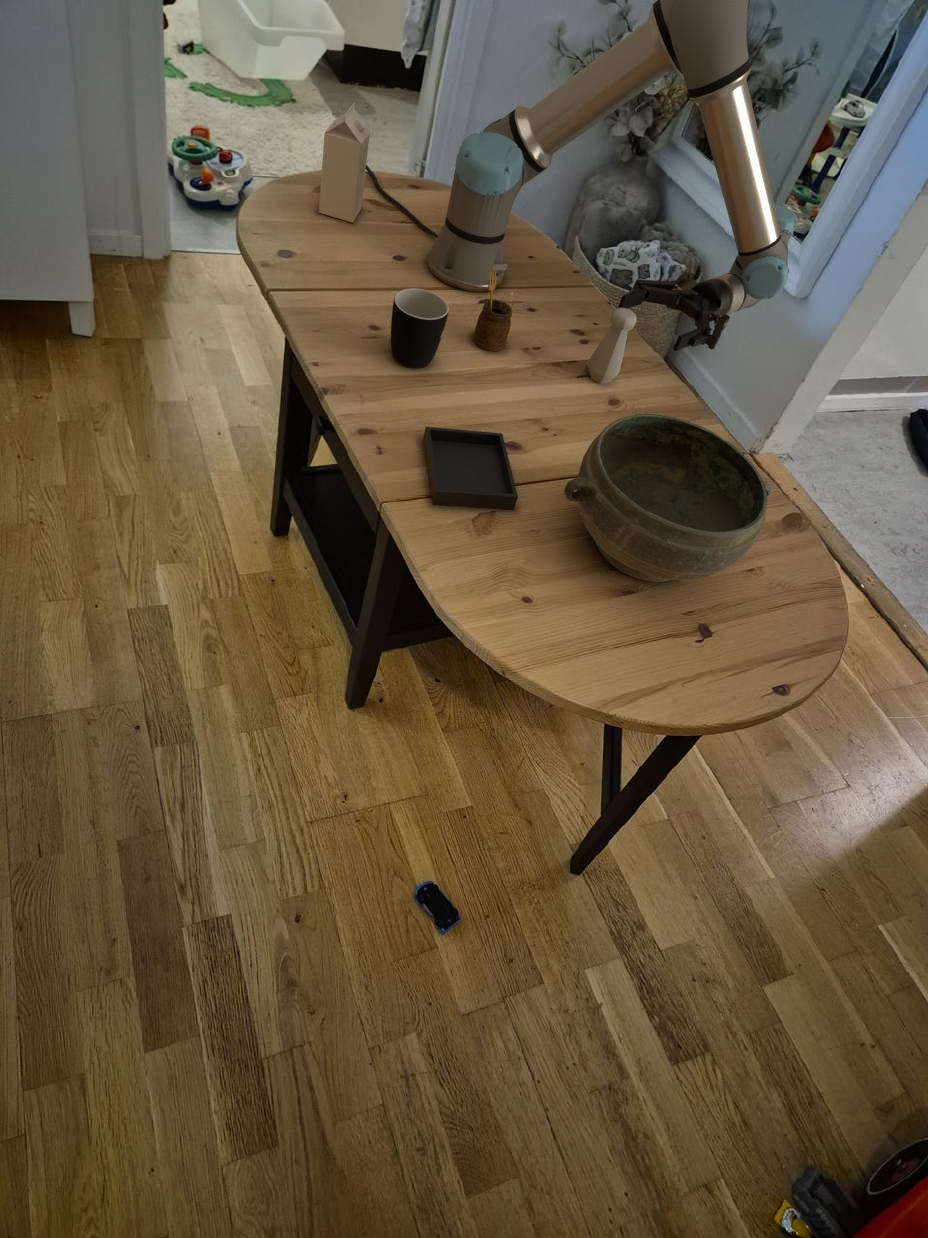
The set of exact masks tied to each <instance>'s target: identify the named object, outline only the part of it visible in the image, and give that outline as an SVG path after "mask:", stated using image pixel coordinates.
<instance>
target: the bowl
mask: <svg viewBox="0 0 928 1238" xmlns="http://www.w3.org/2000/svg"><path fill="white" fill-rule="evenodd" d="M577 474H578V475H577V477H574V478H572V479H571V480H570V481H568V482H567V483H566V484H565V487H564V497H565V499H567V501H569V502H575V503H578V507H579V511H580V515H581V520H582V522H583V525H584V527H585V529H586V530H587V532H588V533H589V535H590V536H591V537H592V538H593V540H594V542H595V545H596V547H597V549H598V551H599V552H600V554H601V555H602V557H604V559H605V560H606V561H607V562H608V563H609V564H610V565H612V567H614V568H615V569H616V570H618V571H620V572H621V573H623V574H624V575H627V576H628V577H631V578H633V579H637V580H642V581H646V582H650V583H664V582H668V581H690V580H691V581H692V580H697V579H698V580H699V579H701V578H702V579H703V578H706V577H709V576H712V575H715V574H717V573H720V572H723V571H725V570H727V569H728V568H729V567H731V566H733V565H735V563H737V562H738V561H739V560H740V559H742V558H743V556H744V555H746V554H747V552H748V551H749V550H750V549H751V548H752V547H753V545H754V544H755V543H756V542H757V540H758V538H759V537H760V535H761V533H762V530H763V528H764V526H765V521H766V515H767V514H766V513H767V507H768V497H769V496H770V493H771V490H772V489H771V486H770V484H769V483H768V481H765V480H763V478H762V476H761V474H760V473H759V470H757V467H756V466H755V464H753V462H752V461H751V460H750V459H749V458H748V456H746V455H745V454H744V453H743V452H742V451H740V449H738V448H737V447H736V446H735V445H734V444H732V443H731V442H730V441H728V440H726V439H725V438H723V437H722V436H720V435H719V434H717V433H716V432H714V431H712V430H710V429H708V428H706V427H704V426H702V425H699V424H696V423H694V422H691V421H688V420H685V419H681V418H678V417H674V416H669V415H664V414H657V413H636V414H631V415H628V416H624V417H620V418H618V419H616V420H614V421H612V422H610V423H609V424H608V425H606V426H605V427H604V428H603V430H602V431H601V432H600V433H599V434H598V435H597V436H596V437H595V438H594V439H593V440H592V441H591V443H590V444H589V446H588V447H587V449H586V451H585V453H584V455H583V457H582V460H581V463H580V466H579V471H578V473H577Z"/></svg>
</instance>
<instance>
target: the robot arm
mask: <svg viewBox="0 0 928 1238" xmlns="http://www.w3.org/2000/svg"><path fill="white" fill-rule="evenodd" d="M750 6H751V0H656V1H655V2H653V3H652V4H651V7H650V9H649V14H648V16H647V19H646V21H645V22H643V23H642V24H641V25H639V26H638V27H637V28H635V29H634V30H633V31H632V32H630V33H629V34H627V35H626V36H625V37H624V38H622V39H620V41H618V42H616V43H615V44H614V45H613V46H612V47H610V48H609V49H608V50H606V51H605V52H603V53H602V54H601V55H599V56H598V57H597V58H595V59H594V60H593V61H592V62H590V63H589V64H588V65H586V66H585V67H584V68H582V69H581V70H580V71H579V72H578V71H577V73H576V74H574V75H573V76H572V77H570V78H569V79H568V80H566V81H565V82H564V83H562V84H561V85H560V86H559V87H557V88H556V89H554V90H553V91H552V92H550V93H549V94H547V96H545V97H543V99H541V100H540V101H538V102H537V103H536V104H535V105H533V106H532V107H530V108H529V107H526V106H522V105H519V106H517V107H516V108H515V109H513V110H512V111H510V112H509V113H508V114H506V115H505V116H504V117H501V118H498V119H497V120H494V121H492V122H490V123H489V124H488V125H487V126H486V127H485V128H484V129H483V130H482V131H480V132H479V133H477V132H475V133H471V134H470V135H468V136H466V137H465V138H464V139H463V140H462V142H461V144H460V146H459V150H458V153H457V154H456V157H455V168H454V172H453V173H454V174H453V178H452V183H451V190H450V194H449V200H448V204H447V210H446V216H445V220H444V224H443V226H442V228H441V230H440V232H439V234H437V233H436V232H435V231H433V230H432V229H430V228H428V227H427V225H425V224H424V223H423V222H421V221H420V220H419V219H418V218H416V216H414V214H412V212H411V211H410V210H408V209H407V208H406V207H405V206H404V205H403V204H402V203H400V202H399V201H397V200H396V199H394V197H392V196H391V195H390V194H388V193H387V192H386V191H384V189H383V188H382V187H381V185H380V184H379V181H378V179H377V176H376V175H375V173H374V171H372V169H371V168H370V167H369V165H368V164H366V171H367V172H368V174H369V175H370V176H371V179H372V181H373V183H374V185H375V187H376V189H377V191H379V192H380V194H381V195H382V196H384V197H385V198H386V199H387V200H389V201H390V202H391V203H393V205H395V206H397V207H398V208H399V209H400V210H401V211H403V212H404V213H405V214H406V215H407V216H408V217H409V218H410V219H411V220H413V222H415V224H417V225H418V226H419V227H420V228H421V230H423V231H425V232H426V233H428V234H429V235H431V236H432V237H434V238H435V241H434V243H433V244H432V246H431V248H430V250H429V253H428V258H427V267H428V269H429V270H430V272H431V274H433V276H434V277H435V278H437V279H438V280H439V281H441V282H443V283H444V284H446V285H449V286H451V287H453V288H456V289H459V290H464V291H467V292H474V293H475V292H479V293H480V292H482V293H483V292H491V291H490V290H488V285H489V273H490V271H491V278H492V271H494V272H495V270H496V287H495V289H498V288H499V287H500V286H501V285H502V283H503V281H504V278H505V272H506V271H507V268H508V265H509V264H508V263H505V245H504V240H505V236H506V232H507V228H508V224H509V220H510V217H511V213H512V210H513V205H514V202H515V199H516V198H517V197H518V194H519V193H520V190H521V189H522V187H524V185H525V184H527V183H528V182H530V181H531V180H532V179H534V178H535V177H537V176H538V175H540V174H542V173H543V172H544V171H546V170H547V169H548V168H549V167H551V165H552V160H553V155H554V154H555V153H557V152H558V151H559V150H561V149H562V148H564V147H565V146H566V145H568V144H570V143H571V142H572V141H573V140H575V139H577V138H578V137H579V136H580V135H582V134H584V133H585V132H587V131H588V130H589V129H590V128H592V127H594V126H595V125H596V124H598V123H599V122H601V121H602V120H604V119H605V118H607V117H608V116H609V115H611V114H613V113H614V112H615V111H617V110H618V109H619V108H621V107H623V106H624V105H625V104H626V103H628V102H630V101H631V100H632V99H634V98H635V97H637V96H638V95H639V94H642V92H644V91H646V89H648V88H650V87H651V86H653V85H654V84H655V83H657V82H659V81H660V80H661V79H662V78H664V77H665V76H667V75H669V74H673V75H677V76H682V77H683V80H684V84H685V86H686V89H687V94H688V97H689V100H690V101H692V102H694V103H697V105H698V108H699V112H700V116H701V119H702V123H703V127H704V131H705V133H706V134H705V135H706V138H707V142H708V146H709V148H710V149H709V150H710V153H711V156H712V161H713V164H714V169H715V171H716V176H717V179H718V183H719V187H720V190H721V194H722V197H723V200H724V205H725V208H726V209H725V210H726V213H727V217H728V220H729V223H730V228H731V231H732V233H733V235H732V236H733V238H734V243H735V246H736V249H737V255H736V257H735V259H734V261H733V263H732V265H731V267H730V270H729V271H728V272H726V273H723V274H721V275H718V276H714V277H712V278H709V279H707V280H704V281H701V282H699V283H697V284H695V285H694V286H693V287H691V288H690V289H687V288H685V289H683V288H681V287H680V285H681V282H680V280H677V279H673V280H669V281H668V280H655V279H654V280H652V279H641V278H639V279H635V282H634V285H633V287H632V290H630V291H628V293H625V294H623V295H622V296H621V298H620V301H619V303H618V306H617V309H618V308H626V309H632V308H633V307H636V306H639V305H642V304H643V302H646V303H647V302H648V303H652V304H657V305H663V306H668V307H669V308H670V309H671V310H675V311H678V312H679V311H680V312H682V313H684V314H685V315H686V316H687V317H688V318H690V319H693V321H694V326H695V327H696V328H695V329H692V330H690V331H688V332H685V333H683V334H680V335H678V337H677V339H676V341H675V343H674V346H673V348H672V350H673V351H675V352H678V351H680V350H683V349H685V348H689V347H693V348H695V347H698V346H700V345H701V346H704V345H707V348H708V349H710V350H715V349H716V346H717V344H718V342H719V340H720V338H721V335H722V333H723V331H724V330H725V329H726V327H727V325H728V323H729V321H730V319H731V316H730V315H731V314H734V313H737V312H739V311H742V310H744V309H748V308H752V307H754V306H755V305H757V304H758V303H761V302H762V301H763V300H768V299H769V300H770V299H772V298H774V297H776V296H777V295H779V294H780V293H781V292H782V291H783V290H784V289H785V286H786V284H787V283H788V277H789V273H790V268H789V256H788V255H789V242H790V240H791V237H792V236H793V235H794V234H795V233H794V232H795V229H796V227H797V225H798V222H799V218H798V216H797V214H795V213H794V211H793V210H790V209H789V208H787V207H785V206H782V205H780V204H776V203H775V202H774V201H775V200H774V196H773V192H772V187H771V182H770V177H769V174H768V169H767V165H766V160H765V156H764V151H763V147H762V143H761V138H760V134H759V130H758V129H759V128H758V126H757V125H758V124H757V120H756V116H755V112H754V108H753V103H752V99H751V94H750V89H749V85H748V81H747V80H748V78H749V77H748V76H749V75H750V73H751V71H752V64H751V60H750V57H749V51H748V49H749V48H748V38H747V37H748V36H747V25H748V24H747V23H748V22H747V20H748V13H749V10H750ZM493 283H494V277H493ZM495 289H494V290H495ZM712 322H713V324H714V325H713V328H714V329H713V328H711V325H710V323H712ZM712 330H713V331H712ZM711 332H712V333H711Z"/></svg>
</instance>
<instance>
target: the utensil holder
mask: <svg viewBox="0 0 928 1238" xmlns="http://www.w3.org/2000/svg"><path fill="white" fill-rule="evenodd" d="M493 277H494V283H493ZM495 287H496V270H495V272H494V271H492V278H491V271H490V273H489V285H488V290H490V291H489V293H490V295H489V299H488V300H486V301H485V302H484V304H483V306H482V311H481V312H480V313H479V314H478V318H477V321H476V325H475V329H474V334H473V341H474V343H475V344H476V345H477V347H480V348H481V349H483V350H485V351H489V352H498V351H500V350H502V349H503V348H505V346H506V343H507V340H508V337H509V334H510V329H511V325H512V320H511V318H512V316H513V309H512V308H513V307H514V306H515V303H516V301H517V298H515V296H516V293H515V292H513V291H512V290H509V293H508V291H505V294H507V293H508V294H507V295H506V296H505V298H501V299H493V295H494V294H493V293H494V291H495ZM510 295H511V296H512V295H513V297H510V299H509V296H510ZM506 298H507V299H506ZM511 298H512V299H511ZM505 299H506V300H505ZM508 299H509V300H510V302H509V303H510V304H509V303H508V302H507V301H508ZM512 301H513V302H512ZM510 305H511V306H510Z"/></svg>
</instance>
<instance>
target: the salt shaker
mask: <svg viewBox="0 0 928 1238" xmlns="http://www.w3.org/2000/svg"><path fill="white" fill-rule="evenodd" d="M610 315H611V316H610V326H609V327H608V329H607V331H606V332H605V334H604V335H603V337H602V339H601V340H600V341H599V343H598V345H597V346H596V347H595V350H594V351H593V353H592V354H591V356H590V357H589V359H588V374H589V376H590V379H591V380H593V381H594V382H597V383H598V384H601V385H602V384H604V385H605V384H610V383H611V382H612V381H613V380H614V379H616V377H617V376H618V375H619V374H620V372H621V368H622V363H623V357H624V353H625V349H626V343H627V340H628V339H627V338H628V334H629V331H632V330H633V329H634V327H635V325H636V324H637V319H638V318H637V315H636V314H635V312H634V311H632V310H631V309H630V308H628V309H626V308H618V307H617V308H615V309H613V311H612V313H611V314H610Z"/></svg>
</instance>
